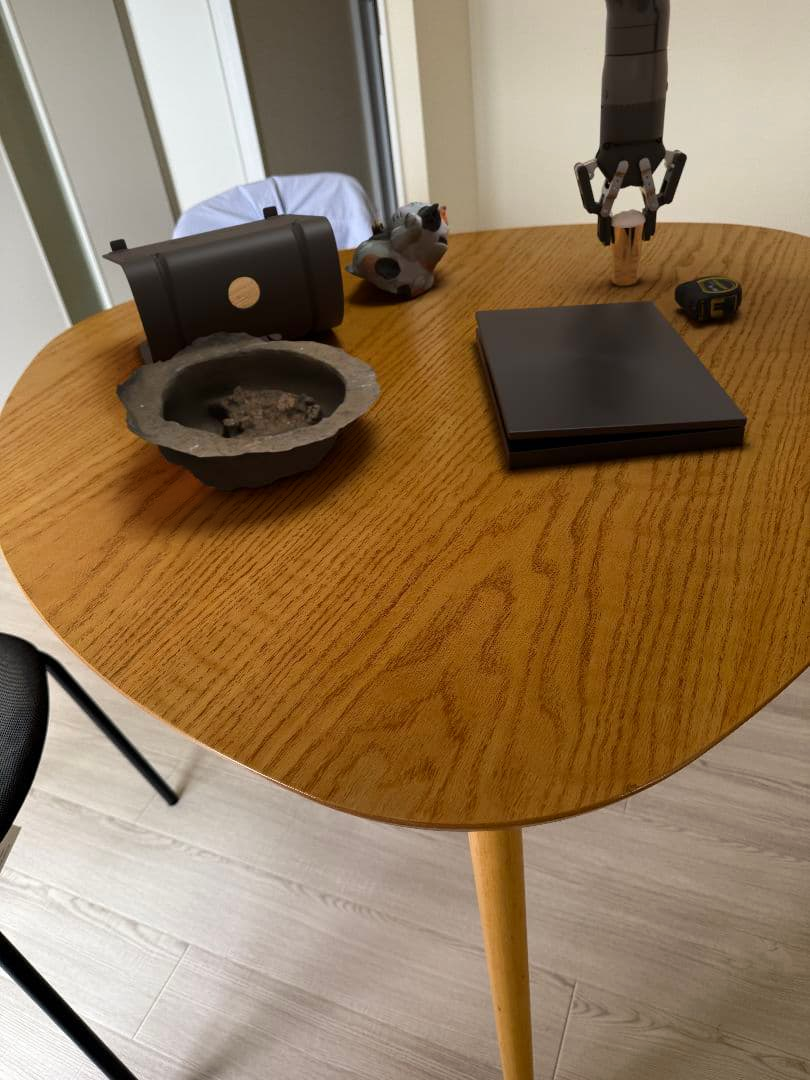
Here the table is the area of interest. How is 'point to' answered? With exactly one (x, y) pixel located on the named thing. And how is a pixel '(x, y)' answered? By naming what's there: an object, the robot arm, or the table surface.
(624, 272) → the milkshake
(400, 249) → the lucky cat figurine
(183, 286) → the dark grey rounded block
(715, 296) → the tape measure
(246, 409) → the stone bowl
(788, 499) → the table surface
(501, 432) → the laptop
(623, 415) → the laptop screen
